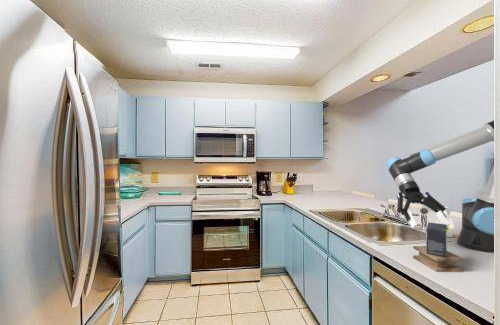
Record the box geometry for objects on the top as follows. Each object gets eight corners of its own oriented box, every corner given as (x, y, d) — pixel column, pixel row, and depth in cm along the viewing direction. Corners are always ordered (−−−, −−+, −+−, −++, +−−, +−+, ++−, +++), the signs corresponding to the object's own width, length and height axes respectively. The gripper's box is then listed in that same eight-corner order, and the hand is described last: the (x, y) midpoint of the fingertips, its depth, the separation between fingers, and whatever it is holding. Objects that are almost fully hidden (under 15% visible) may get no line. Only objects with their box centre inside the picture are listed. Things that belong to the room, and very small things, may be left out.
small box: (427, 246, 106) (427, 221, 106) (446, 249, 102) (447, 224, 102) (425, 253, 98) (425, 227, 97) (446, 257, 94) (447, 230, 93)
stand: (436, 257, 106) (436, 245, 106) (462, 271, 93) (462, 258, 93) (413, 257, 106) (413, 246, 106) (436, 271, 93) (436, 258, 93)
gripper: (428, 189, 120) (454, 230, 105) (377, 190, 119) (397, 231, 104) (437, 180, 114) (466, 221, 100) (384, 180, 113) (405, 221, 99)
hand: (431, 226), depth 102 cm, fingers open, 13 cm apart
